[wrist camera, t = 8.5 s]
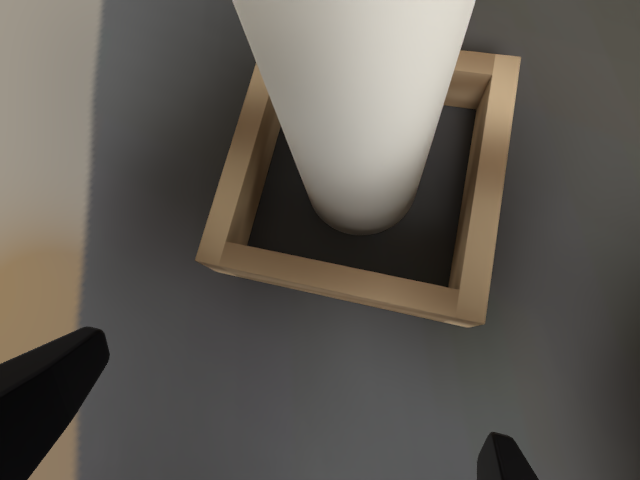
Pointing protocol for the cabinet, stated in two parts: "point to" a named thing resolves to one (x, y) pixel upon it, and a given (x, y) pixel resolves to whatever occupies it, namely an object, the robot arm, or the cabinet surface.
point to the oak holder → (355, 284)
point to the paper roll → (357, 95)
